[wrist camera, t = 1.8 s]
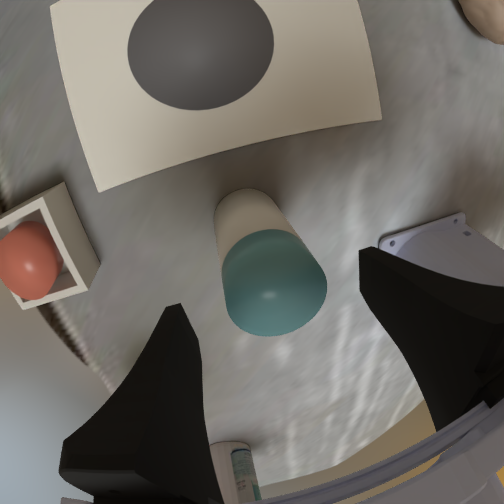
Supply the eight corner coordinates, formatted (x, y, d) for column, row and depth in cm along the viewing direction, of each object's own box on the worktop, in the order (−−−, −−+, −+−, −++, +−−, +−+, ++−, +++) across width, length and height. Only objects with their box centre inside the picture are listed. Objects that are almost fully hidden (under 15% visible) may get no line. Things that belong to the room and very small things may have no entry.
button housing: (64, 181, 15) (42, 196, 12) (100, 264, 18) (88, 290, 15) (2, 213, 15) (-21, 232, 12) (38, 285, 18) (22, 310, 15)
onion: (481, -11, 11) (546, -14, 4) (495, 50, 14) (564, 58, 7) (433, -32, 11) (506, -49, 4) (451, 35, 14) (533, 35, 7)
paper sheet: (337, -54, 10) (338, -55, 10) (381, 119, 16) (382, 119, 16) (50, 6, 9) (49, 6, 9) (99, 192, 16) (98, 193, 16)
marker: (271, 181, 17) (322, 239, 10) (283, 239, 19) (330, 319, 12) (205, 199, 17) (212, 270, 10) (223, 256, 19) (240, 346, 12)
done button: (44, 210, 14) (29, 224, 12) (74, 272, 16) (63, 291, 14) (0, 233, 13) (-16, 248, 12) (29, 287, 16) (17, 306, 14)
